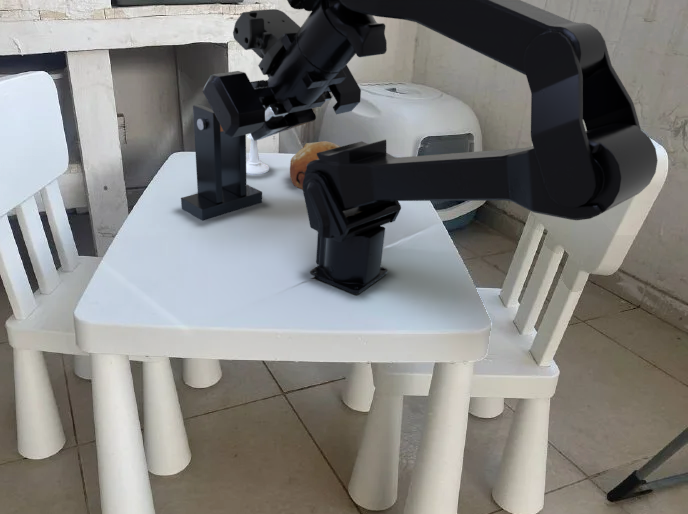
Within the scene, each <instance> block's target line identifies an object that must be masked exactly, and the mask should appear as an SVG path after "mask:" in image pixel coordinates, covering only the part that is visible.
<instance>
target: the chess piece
mask: <svg viewBox="0 0 688 514" xmlns="http://www.w3.org/2000/svg"><path fill="white" fill-rule="evenodd" d="M246 139H248V140H250V145H249V154H248V160H247V159H246V175H263V174H265V173H268V172H269V171H270V167H269V165H268V164H266V163H264V162H262V160H260V155H259V154H260V153H259V146H258V140H256V141H254V139H253V138H252V136H251V133H250V134H246Z"/></svg>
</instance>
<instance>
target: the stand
mask: <svg viewBox="0 0 688 514" xmlns="http://www.w3.org/2000/svg"><path fill="white" fill-rule="evenodd" d="M192 110H193V111H192V112H193V113H192V114H193V115H192V116H193V131H194V133H193V135H194V149H195V151H194V152H195V167H196V168H195V169H196V185H197V193H193V194H189V195H186V196H182V197H181V198H180V203H181V205H180V206H181V210H183V211H184V212H186V213H188V214H190V215H192V216H193V217H195V218H197V219H198V220H200V221H202V222H203V221H207V220H210V219H214V218H217V217H220V216H223V215H227V214H230V213H233V212H236V211H240V210H243V209H246V208H249V207H252V206H256V205H258V204H262V203H263V191H261V190H260V189H257V188H255V187H253V186H252V185H249V184H247V174H246V163H247V134H246V135H241V136H237V137H230V136H228V135H226V134H225V133H224V131H222V132H220V123H219V121H218V120H217V118H216V116H215V114H214V112H213V110H212V108H211V107H210V108H209V107H208V106H205V105H202V104H195V105H192Z"/></svg>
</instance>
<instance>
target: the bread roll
mask: <svg viewBox="0 0 688 514" xmlns="http://www.w3.org/2000/svg"><path fill="white" fill-rule="evenodd" d="M338 147H342V146H340V145H338V144H336V143H334V142H332V141H325V140H322V141H318V142H317V141H316V142H315V141H314V142H306V143H305V144H304V145H303V147H302V148H301V149H299V150H298V151H297V152H296V153H295V154H294V155H293V156H292V157H291V158H290V163H289V178H290V180H291V183H292V184H293V186H294V187H296V188H297V189H300V190H303V180H304V176H305V171H306V169H307V164H308V163H309V162H311V161H313V160H317V159H319V158H318V156H317V153H319V152H323V151H326V150H330V149H334V148H338Z"/></svg>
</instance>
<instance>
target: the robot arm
mask: <svg viewBox="0 0 688 514" xmlns="http://www.w3.org/2000/svg"><path fill="white" fill-rule="evenodd" d="M286 1H287V3H288V5H289V6H290V8H292V9H294V10H304V11H305V12H310V14H308V16H307V18H306V19H305V20H304V22H303V24H302V25H299V24H297V22H295V21H294V19H292V18H291V17H290V16H289V15H287V13H285V12H284V11H283V10H280V9H276V8H271V9H256V10H250V11H242V13H241V14H240V15H239V16H238V18H237V20H235V23H234V27H233V31H232V35H233V39H234V41H235V42H237V43H238V44H239V46H241V47H242V48H243V49H244V50H245V51H248V50H252V51H253V52H254V53H255V54H256V55H257V57H259V58H260V59H261V61H260V62H259V64H258V65H257V66H258V68H259V70H260V71H261V73H262V75H264V76H267V78H268V79H260V80H254V81H251V80H250V78H249V77H248V75H247V73H246V72H244V71H240V70H235V71H226V72H220V73H214V74H210V76H209V78H208V79H207V81H206V83H205V85H204V86H203V89H202V94H203V95H204V97H205V99H206V101H207V103H208V105H209V106H210V109H212V110H213V112H214V114H215V116H216V118H217V120H218V121H219V123H220V125H221V127H222V129H223V131H224V133H225V134H226V135H228V136H230V137H237V136H241V135H246V136H247V135H248V134H250V133H251V136H252V138H253V139H254V141H256V140H257V141H260V140H263V139H266V138H268V137H271V136H275V135H277V134H279V133H283V132H285V131H289V130H291V129H294V128H296V127H300V126H303V125H305V124H309V123H311V122H315V120H316V119H317V115H316V114H315V111H314V110H313V109H316V108H321V107H322V106H323V105H324V104H325V103H326V101H330V100H331V99H332V97H333V98H334V100H335V101H336V103H334V105H333V106H332V109H333V112H334V113H335V115H340V114H344V113H349V112H352V111H353V110H354V109H355V108H356V107H357V106H358V105H359V104H360V103H361V99H362V98H361V97H362V90H361V88H360V86H359V84H358V82H357V81H356V78H355V77H354V75H353V73H352V72H351V70H350V68H349V66H348V64H349V62H350V61H351V60H352V59H353V58H354V57H355V55H356V56H357V57H358V58H366V57H371V56H379V55H384V54H386V53H387V50H388V48H387V43H388V42H387V38H386V32H385V31H386V24H385V23H384V22H382V23H381V22H379V23H378V22H377V21H376V19H375V17H377V18H387V19H394V20H403V21H404V20H405V21H408V22H412V23H416V24H419V25H421V26H423V27H425V28H427V29H429V30H430V31H433V32H435V33H437V34H439V35H442V36H443V37H445V38H448V39H450V40H452V41H454V42H456V43H458V44H460V45H462V46H464V47H466V48H469V49H471V50H473V51H475V52H476V53H479V54H481V55H484V56H485V57H487V58H489V59H492V60H493V61H495V62H497V63H500V64H502V65H503V66H505V67H508V68H510V69H512V70H514V71H516V72H518V73H521V74H523V75H524V76H525V77H526V80H527V83H528V86H529V90H530V93H531V94H530V95H531V97H530V140H531V144H532V145H530V146H527V147H520V148H507V149H494V150H493V149H492V150H479V151H466V152H452V153H442V154H441V153H440V154H427V155H415V156H413V155H412V156H401V157H397V156H393V155H392V154H390V153H388V152H387V139H382V140H379V141H375V142H371V143H367V142H365V141H362V140H361V141H357V142H354V143H350V144H346V145H342V146H341V147H338V148H334V149H330V150H326V151H323V152H319V153H317V156H318V158H319V159H317V160H313V161H311V162H309V163H308V164H307V169H306V171H305V176H304V180H303V189H302V193H303V197H304V202H305V208H306V213H307V217H308V222H309V223H308V224H309V227H310V228H311V230H314V231H316V233H317V235H316V238H317V239H316V253H315V254H316V255H315V263H316V265H317V266H316V267H314V268H313V269H311V270H310V271H309V274H310V275H311V276H313V278H314V279H317V280H319V281H321V282H324V283H327V284H328V285H332V286H334V287H336V288H338V289H341V290H344V291H346V292H348V293H351V294H353V295H359V294H361V293H362V292H364V291H365V290H366V289H368V288H369V287H370V286H372V285H373V284H375V283H376V282H377V281H379V280H380V279H381V278H384V276H386V275H387V274H388V268H386V267H384V266H382V258H383V252H384V243H385V233H386V227H385V226H384V225H387V224H389V223H391V224H392V223H394V222H396V220H397V218H398V216H399V214H400V213H401V210H402V205H401V204H400V202H433V201H434V202H439V201H440V202H441V201H442V202H446V201H447V202H450V201H451V202H457V201H458V202H459V201H463V202H464V201H467V202H469V201H470V202H471V201H472V202H473V201H475V202H476V201H487V202H488V201H505V202H511V203H514V204H516V205H517V206H519V207H522V208H524V209H526V210H528V211H530V212H531V213H535V214H540V215H544V216H549V217H555V218H559V219H565V220H570V221H584V220H591V219H593V218H595V217H598V216H599V215H601V214H604V213H606V212H607V211H609V210H611V209H613V208H616V207H617V206H618V205H620V204H622V203H625V202H626V201H628V200H630V199H631V198H633V197H635V196H637V195H639V194H640V193H642V192H643V191H644V190H645V189H646V188H647V187H648V186H649V185H650V184H651V182H652V180H653V179H654V176H655V175H656V172H657V168H658V167H657V166H658V160H659V159H658V155H657V151H656V150H657V149H656V146H655V145H654V143H653V141H652V140H651V137H650V136H649V135H648V134H647V133H645V132H644V131H643V130H642V128H641V125H640V121H639V117H638V114H637V110H636V108H635V104H634V102H633V99H632V97H631V95H630V94H629V92H628V91H627V89H626V87H625V85H624V84H623V82H622V81H621V78H620V77H619V75H618V73H617V71H616V70H615V68H614V67H613V65H612V62H611V61H612V60H611V58H610V54H609V51H608V46H607V43H606V40H605V38H604V37H603V35H602V33H601V32H600V31H599V29H598V28H597V27H595V26H593V25H592V24H589V23H585V22H577V21H572V20H569V19H567V18H565V17H562V16H560V15H557V14H555V13H553V12H550V11H548V10H545V9H543V8H540V7H538V6H535V5H533V4H531V3H528V2H526V1H523V0H286ZM331 94H332V95H331Z"/></svg>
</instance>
